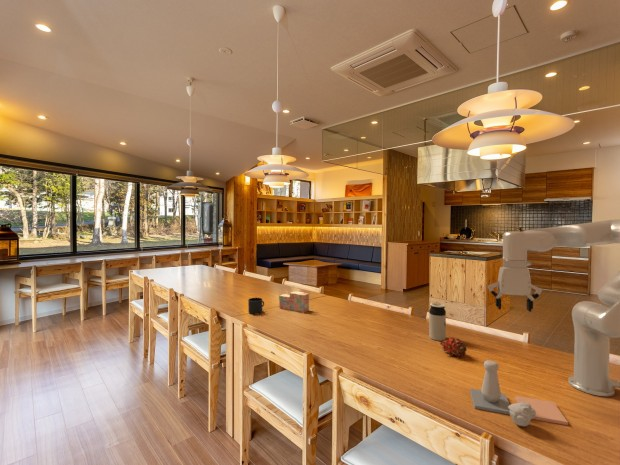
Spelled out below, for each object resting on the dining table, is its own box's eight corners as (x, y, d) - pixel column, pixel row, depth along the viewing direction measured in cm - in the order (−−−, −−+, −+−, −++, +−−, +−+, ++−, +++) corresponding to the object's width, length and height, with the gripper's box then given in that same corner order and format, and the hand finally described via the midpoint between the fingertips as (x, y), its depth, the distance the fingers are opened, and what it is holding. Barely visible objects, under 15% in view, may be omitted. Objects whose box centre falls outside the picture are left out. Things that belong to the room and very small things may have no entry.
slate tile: (505, 396, 107) (505, 394, 107) (513, 415, 97) (513, 412, 97) (469, 391, 111) (469, 388, 111) (474, 408, 101) (474, 405, 101)
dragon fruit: (467, 363, 136) (441, 358, 145) (472, 347, 141) (447, 343, 150) (460, 350, 134) (434, 346, 143) (465, 335, 138) (440, 332, 148)
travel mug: (426, 338, 162) (427, 304, 161) (432, 334, 167) (432, 301, 167) (442, 342, 156) (442, 307, 156) (447, 338, 162) (448, 304, 161)
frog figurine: (534, 435, 88) (534, 411, 88) (506, 425, 93) (506, 402, 92) (536, 425, 93) (537, 402, 92) (509, 415, 97) (509, 393, 97)
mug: (268, 311, 213) (268, 298, 213) (253, 315, 205) (253, 301, 204) (260, 308, 220) (260, 296, 219) (245, 312, 211) (245, 299, 211)
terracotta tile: (553, 404, 103) (553, 401, 103) (567, 425, 92) (567, 422, 92) (514, 398, 106) (515, 395, 106) (524, 417, 96) (524, 414, 96)
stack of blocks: (279, 308, 220) (279, 291, 220) (284, 306, 226) (284, 289, 225) (304, 312, 209) (304, 294, 209) (309, 310, 215) (309, 293, 214)
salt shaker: (482, 392, 108) (483, 356, 108) (501, 398, 105) (502, 361, 104) (479, 400, 104) (480, 362, 103) (499, 406, 100) (499, 367, 100)
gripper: (538, 263, 115) (537, 308, 116) (486, 262, 121) (485, 304, 122) (545, 266, 108) (545, 314, 109) (490, 264, 114) (489, 310, 115)
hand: (513, 309), depth 116 cm, fingers open, 9 cm apart
